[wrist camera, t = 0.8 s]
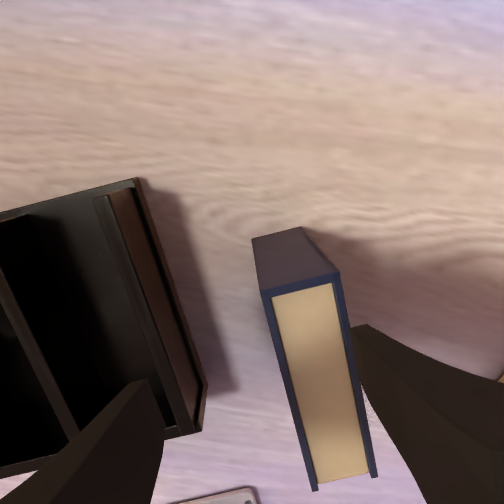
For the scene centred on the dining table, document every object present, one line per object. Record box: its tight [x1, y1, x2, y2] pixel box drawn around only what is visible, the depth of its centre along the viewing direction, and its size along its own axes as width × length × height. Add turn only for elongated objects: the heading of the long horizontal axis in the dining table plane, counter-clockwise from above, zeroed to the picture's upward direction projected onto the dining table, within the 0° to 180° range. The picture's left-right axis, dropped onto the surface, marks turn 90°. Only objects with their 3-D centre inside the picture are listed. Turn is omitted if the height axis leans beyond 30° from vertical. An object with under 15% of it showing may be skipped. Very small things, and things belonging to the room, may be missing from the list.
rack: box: [0, 177, 208, 479], centre depth 19 cm, size 14×19×4 cm
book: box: [251, 227, 378, 492], centre depth 18 cm, size 10×3×8 cm, turn 14°
